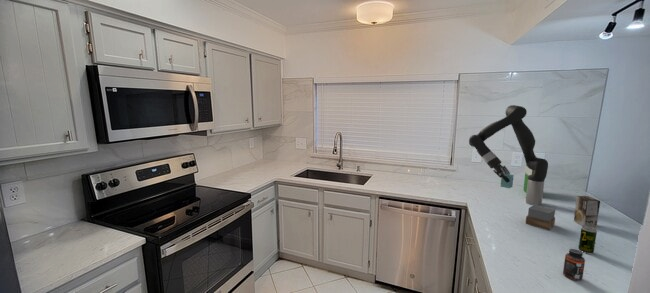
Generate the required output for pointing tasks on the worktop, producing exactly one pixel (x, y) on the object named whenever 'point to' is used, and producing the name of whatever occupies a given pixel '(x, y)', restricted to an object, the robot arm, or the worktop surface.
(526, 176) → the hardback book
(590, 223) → the coffee box
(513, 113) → the robot arm
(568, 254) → the supplement bottle
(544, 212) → the tower top
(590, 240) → the beer can
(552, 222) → the tower bottom
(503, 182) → the teal block
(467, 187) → the worktop surface
